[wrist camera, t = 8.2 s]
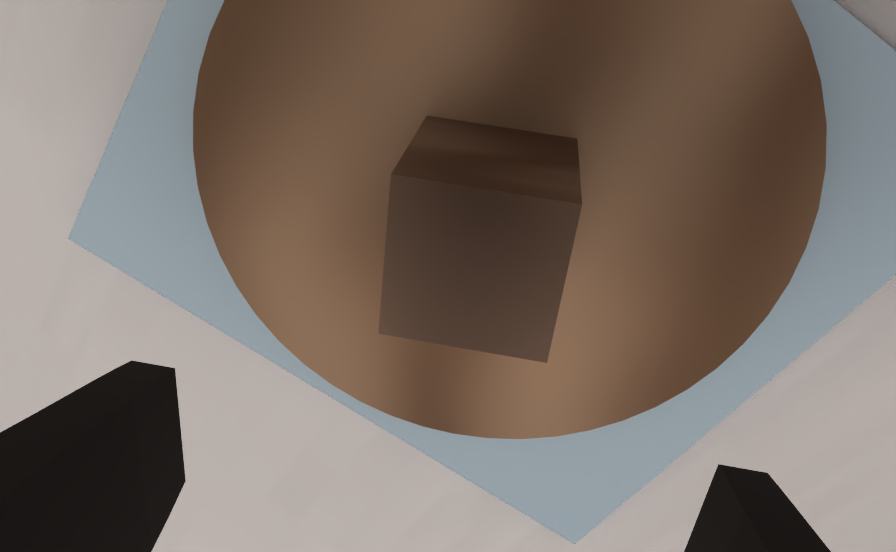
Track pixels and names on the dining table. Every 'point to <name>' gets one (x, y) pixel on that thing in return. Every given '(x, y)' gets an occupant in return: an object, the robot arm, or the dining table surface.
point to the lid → (510, 195)
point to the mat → (537, 459)
